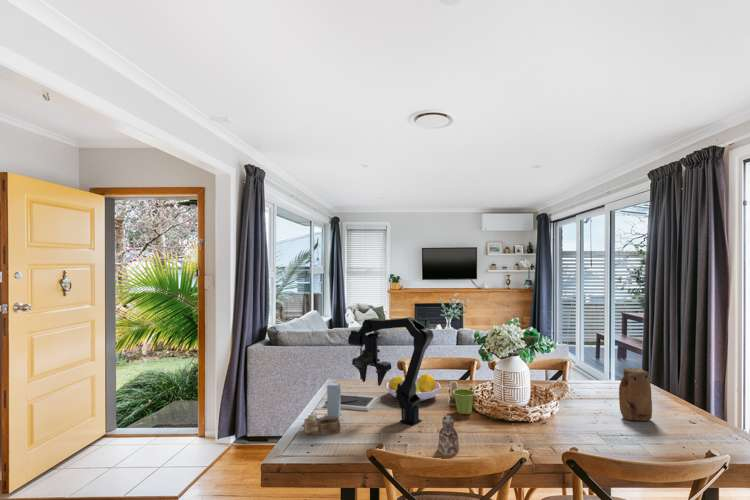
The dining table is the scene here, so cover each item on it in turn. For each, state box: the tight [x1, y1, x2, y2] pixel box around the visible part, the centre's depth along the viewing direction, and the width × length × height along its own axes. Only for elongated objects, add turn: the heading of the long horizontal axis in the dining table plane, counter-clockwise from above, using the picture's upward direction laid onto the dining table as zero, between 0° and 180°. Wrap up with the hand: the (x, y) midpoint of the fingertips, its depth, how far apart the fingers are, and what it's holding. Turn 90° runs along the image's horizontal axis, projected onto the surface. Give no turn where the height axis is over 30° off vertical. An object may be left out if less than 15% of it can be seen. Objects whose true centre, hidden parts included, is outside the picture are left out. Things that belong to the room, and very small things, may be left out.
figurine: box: [437, 412, 460, 456], centre depth 142 cm, size 7×7×12 cm
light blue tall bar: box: [326, 382, 342, 419], centre depth 176 cm, size 5×3×14 cm, turn 78°
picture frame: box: [324, 393, 379, 412], centre depth 192 cm, size 16×3×21 cm
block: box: [618, 367, 653, 422], centre depth 169 cm, size 11×8×20 cm
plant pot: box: [452, 388, 476, 415], centre depth 179 cm, size 9×9×9 cm
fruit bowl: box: [386, 373, 442, 402], centre depth 199 cm, size 28×27×11 cm
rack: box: [303, 417, 341, 437], centre depth 160 cm, size 13×6×4 cm, turn 103°
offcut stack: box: [303, 414, 318, 433], centre depth 160 cm, size 5×6×5 cm
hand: (371, 383), depth 178 cm, fingers open, 9 cm apart
